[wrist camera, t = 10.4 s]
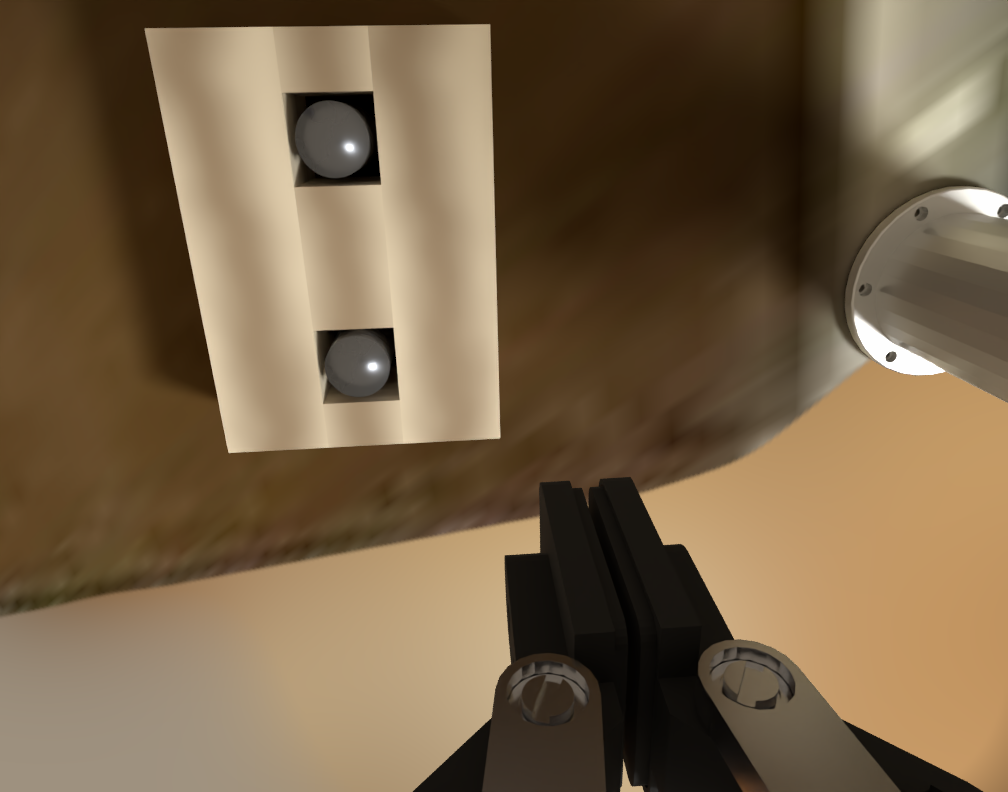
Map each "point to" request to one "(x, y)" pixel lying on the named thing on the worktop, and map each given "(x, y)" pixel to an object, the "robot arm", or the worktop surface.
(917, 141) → the worktop surface
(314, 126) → the peg
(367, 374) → the peg
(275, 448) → the maple block
